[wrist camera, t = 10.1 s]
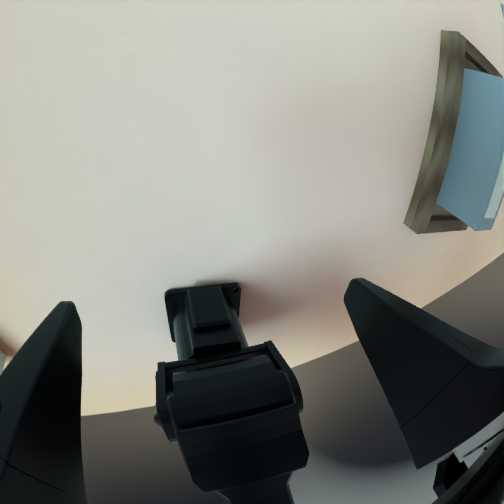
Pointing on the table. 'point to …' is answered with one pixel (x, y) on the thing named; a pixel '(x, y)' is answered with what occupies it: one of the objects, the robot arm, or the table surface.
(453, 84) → the tray
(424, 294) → the table surface
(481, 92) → the frame block
